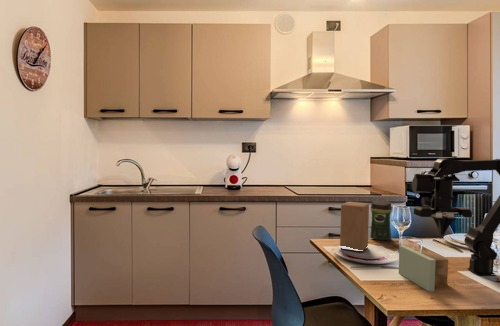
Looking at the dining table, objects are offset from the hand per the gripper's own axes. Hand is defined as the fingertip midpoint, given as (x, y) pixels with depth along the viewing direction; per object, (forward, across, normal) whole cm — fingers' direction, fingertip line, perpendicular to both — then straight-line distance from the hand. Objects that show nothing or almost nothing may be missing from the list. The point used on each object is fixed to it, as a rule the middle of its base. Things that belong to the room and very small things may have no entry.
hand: (441, 235), depth 129 cm
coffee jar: (+13, +6, -43) cm, 45 cm away
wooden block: (+13, +24, -26) cm, 38 cm away
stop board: (+13, +14, +11) cm, 22 cm away
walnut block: (+13, +10, +10) cm, 19 cm away
